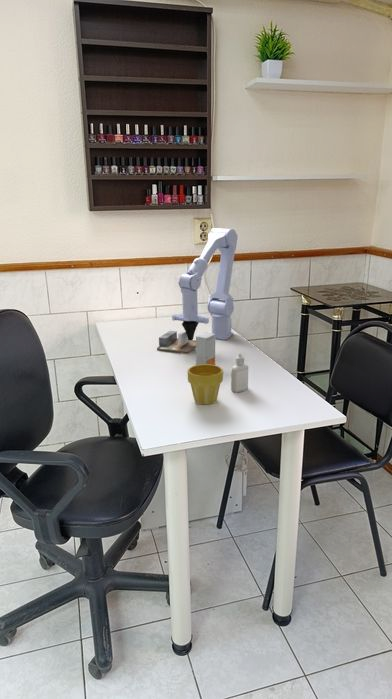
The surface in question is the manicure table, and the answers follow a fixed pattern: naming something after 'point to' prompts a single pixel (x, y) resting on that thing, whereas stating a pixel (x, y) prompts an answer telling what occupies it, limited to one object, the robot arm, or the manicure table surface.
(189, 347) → the gauge frame
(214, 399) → the plant pot
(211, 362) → the skincare box
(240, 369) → the eye dropper bottle
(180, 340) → the paddle
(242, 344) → the manicure table surface
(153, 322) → the manicure table surface
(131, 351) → the manicure table surface
